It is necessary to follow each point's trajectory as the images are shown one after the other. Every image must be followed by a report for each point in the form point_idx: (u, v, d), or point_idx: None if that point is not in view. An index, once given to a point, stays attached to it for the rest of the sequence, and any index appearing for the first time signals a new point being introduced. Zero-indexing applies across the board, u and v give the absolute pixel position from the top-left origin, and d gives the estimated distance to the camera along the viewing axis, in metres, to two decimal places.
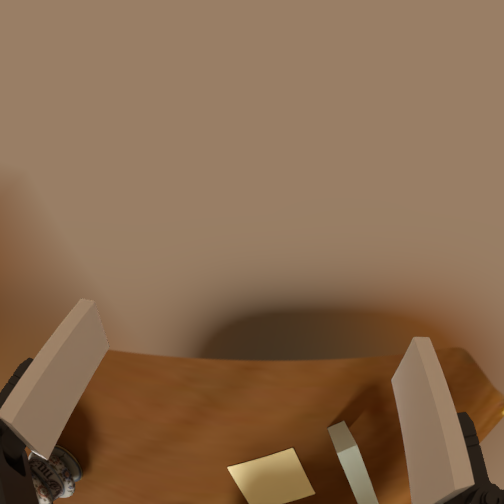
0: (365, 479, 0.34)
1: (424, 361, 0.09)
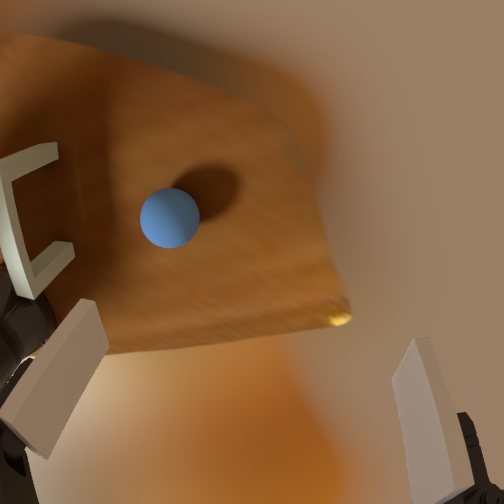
0: (10, 237, 0.23)
1: (424, 361, 0.09)
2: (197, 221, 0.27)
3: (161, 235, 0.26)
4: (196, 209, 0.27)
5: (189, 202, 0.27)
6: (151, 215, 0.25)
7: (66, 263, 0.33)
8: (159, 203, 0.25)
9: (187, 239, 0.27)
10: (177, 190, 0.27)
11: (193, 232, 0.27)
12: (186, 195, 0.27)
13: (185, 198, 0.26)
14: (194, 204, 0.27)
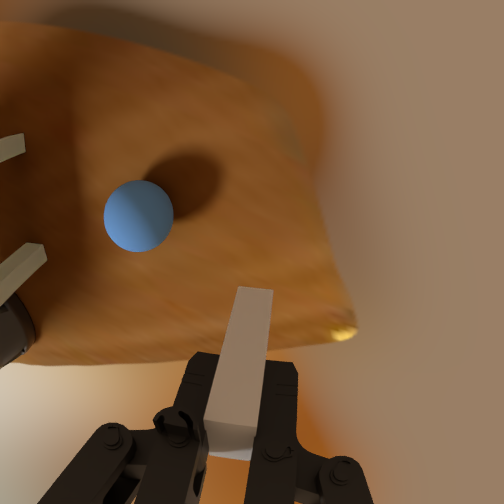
0: None
1: (254, 307, 0.12)
2: (169, 219, 0.22)
3: (125, 236, 0.21)
4: (168, 205, 0.22)
5: (159, 196, 0.22)
6: (113, 213, 0.20)
7: (36, 267, 0.28)
8: (122, 197, 0.20)
9: (157, 241, 0.22)
10: (146, 182, 0.22)
11: (164, 233, 0.22)
12: (156, 188, 0.22)
13: (154, 191, 0.21)
14: (166, 199, 0.22)
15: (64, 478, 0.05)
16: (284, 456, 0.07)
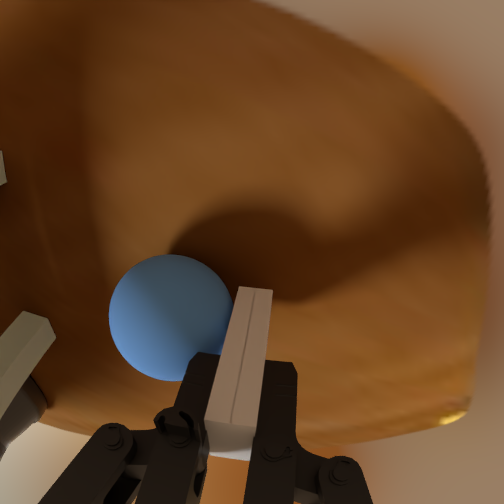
0: None
1: (254, 307, 0.12)
2: None
3: (122, 354, 0.11)
4: (209, 331, 0.11)
5: (191, 313, 0.11)
6: (110, 310, 0.11)
7: (41, 353, 0.18)
8: (125, 292, 0.11)
9: (179, 380, 0.12)
10: (181, 272, 0.11)
11: None
12: (194, 292, 0.11)
13: (184, 300, 0.11)
14: (207, 319, 0.11)
15: (64, 478, 0.05)
16: (284, 456, 0.07)
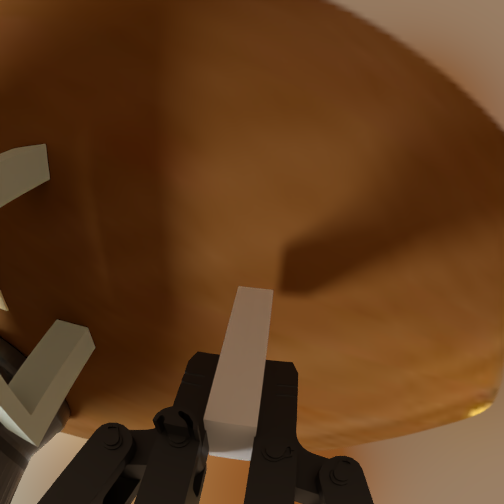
0: None
1: (254, 307, 0.12)
2: None
3: None
4: None
5: None
6: None
7: (81, 365, 0.18)
8: None
9: None
10: None
11: None
12: None
13: None
14: None
15: (64, 478, 0.05)
16: (285, 456, 0.07)
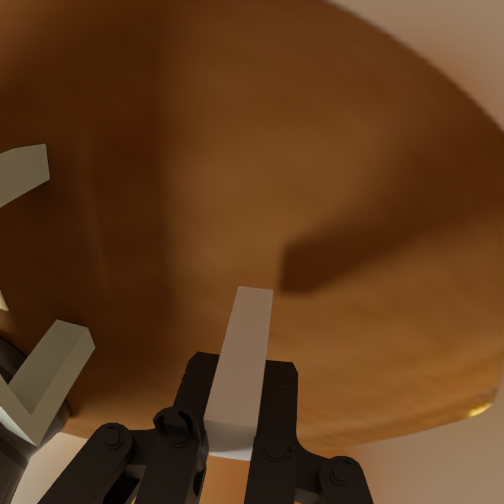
0: None
1: (254, 307, 0.12)
2: None
3: None
4: None
5: None
6: None
7: (81, 365, 0.18)
8: None
9: None
10: None
11: None
12: None
13: None
14: None
15: (64, 478, 0.05)
16: (285, 456, 0.07)
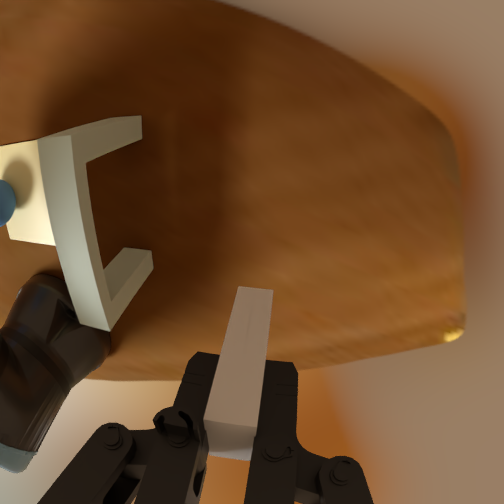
0: (80, 246, 0.18)
1: (254, 307, 0.12)
2: (14, 198, 0.26)
3: None
4: (11, 189, 0.26)
5: (6, 184, 0.25)
6: None
7: (144, 278, 0.28)
8: None
9: (9, 214, 0.26)
10: None
11: (12, 208, 0.26)
12: (3, 181, 0.25)
13: (2, 182, 0.25)
14: (9, 186, 0.26)
15: (64, 478, 0.05)
16: (285, 456, 0.07)
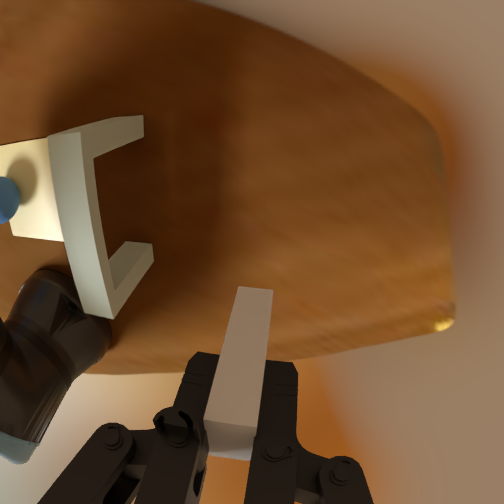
0: (87, 236, 0.19)
1: (254, 307, 0.12)
2: (18, 195, 0.27)
3: None
4: (16, 187, 0.27)
5: (10, 182, 0.26)
6: None
7: (145, 269, 0.29)
8: None
9: (13, 210, 0.27)
10: (1, 176, 0.26)
11: (16, 204, 0.27)
12: (7, 178, 0.26)
13: (7, 179, 0.26)
14: (14, 183, 0.27)
15: (64, 478, 0.05)
16: (285, 456, 0.07)
